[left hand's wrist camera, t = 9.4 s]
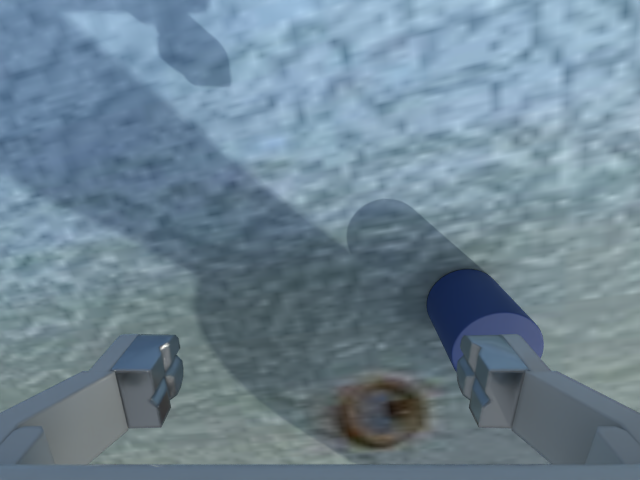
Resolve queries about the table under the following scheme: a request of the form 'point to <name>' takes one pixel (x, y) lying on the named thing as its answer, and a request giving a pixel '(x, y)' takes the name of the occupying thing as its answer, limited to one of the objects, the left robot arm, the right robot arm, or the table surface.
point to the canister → (476, 312)
